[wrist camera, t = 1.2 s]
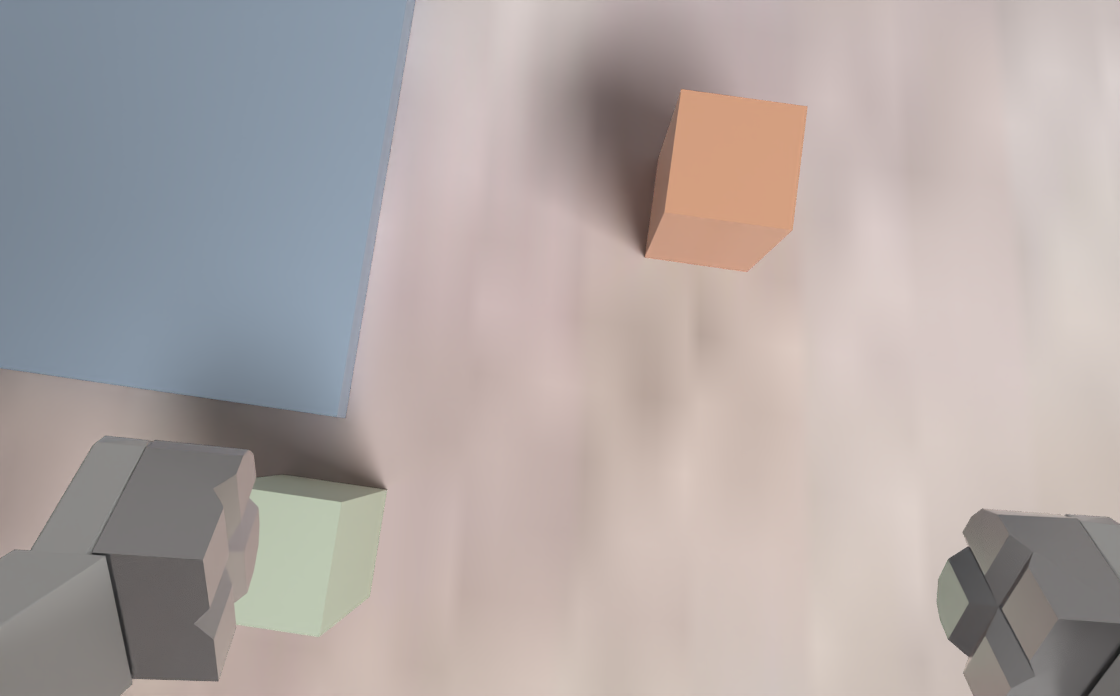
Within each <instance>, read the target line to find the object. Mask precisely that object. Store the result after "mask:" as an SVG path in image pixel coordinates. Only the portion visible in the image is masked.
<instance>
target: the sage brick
mask: <svg viewBox="0 0 1120 696" xmlns="http://www.w3.org/2000/svg"><path fill="white" fill-rule="evenodd" d="M386 493H387V490H386V489H379V488H372V487H365V486H358V485H352V484H345V483H338V482H331V481H324V480H318V479H311V478H304V477H297V476H290V475H284V474H282V475H274V476H266V477H257V478H256V480H255V483H254V485H253V488H252V491H251V494H250V497H249V498H250V499H251V500H252V501H253V502H254V503H255V504H256V505H257V506H258V507H259V523H260V526H259V545H258V551H257V556H256V562H255V568H254V572H253V576H252V579H251V582H250V586H249V589H248V592H247V594H245V595H244V596H243V597H242V598H240V599H239V600H238V601H236V602H235V603H234V608H235V619H236V625H243V626H249V627H256V628H263V629H269V630H276V631H283V632H289V633H296V634H302V635H309V636H316V637H320V636H321V635H322V634H324V633H325V632H326V631H327V630H329V629H330V628H331V627H332V626H334V625H335V624H336V623H337V622H339V621H340V620H341V619H342V618H344V617H345V616H346V615H347V614H349V613H350V612H351V611H352V610H354V609H355V608H356V607H357V606H359V605H360V604H361V603H362V602H364V601H365V600H366V599H367V598H369V597H370V592H371V586H372V580H373V574H374V567H375V561H376V555H377V549H378V543H379V537H380V530H381V524H382V518H383V512H384V506H385V499H386Z"/></svg>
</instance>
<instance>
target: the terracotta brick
mask: <svg viewBox="0 0 1120 696" xmlns="http://www.w3.org/2000/svg"><path fill="white" fill-rule="evenodd" d="M806 115H807V106H800V105H793V104H786V103H778V102H771V101H764V100H757V99H749V98H742V97H735V96H728V95H720V94H713V93H706V92H699V91H691V90H684V89H681V91H680V94H679V97H678V100H677V103H676V106H675V109H674V112H673V115H672V118H671V121H670V124H669V127H668V130H667V133H666V136H665V139H664V142H663V145H662V148H661V151H660V154H659V157H658V164H657V171H656V178H655V185H654V193H653V200H652V207H651V214H650V222H649V229H648V236H647V244H646V251H645V258H652V259H659V260H666V261H673V262H680V263H687V264H694V265H701V266H708V267H716V268H723V269H730V270H737V271H744V272H748V271H749V270H750V269H751V268H752V267H753V266H754V265H755V264H756V263H757V262H759V261H760V260H761V259H762V258H763V257H764V256H765V255H766V254H767V253H768V252H769V251H770V250H772V249H773V248H774V247H775V246H776V245H777V244H778V243H779V242H780V241H781V240H782V239H784V238H785V237H786V236H787V235H788V234H789V233H790V232H791V231H792V230H793V222H794V213H795V205H796V197H797V189H798V180H799V172H800V164H801V156H802V148H803V139H804V131H805V123H806Z"/></svg>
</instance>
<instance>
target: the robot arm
mask: <svg viewBox="0 0 1120 696" xmlns="http://www.w3.org/2000/svg"><path fill="white" fill-rule="evenodd" d="M255 480H256V470H255V461H254V454H253V453H252V452H251V451H250V450H247V449H238V448H228V447H219V446H209V445H199V444H190V443H180V442H170V441H161V440H154V441H149V440H141V439H131V438H122V437H113V436H104V437H103V438H102V439H100V440H99V441H97V442H96V443H95V444H94V445H93V446H92V448H91V449H90V451H89V453H88V454H87V456H86V458H85V459H84V461H83V463H82V464H81V466H80V468H79V469H78V471H77V473H76V474H75V476H74V478H73V479H72V481H71V483H70V485H69V486H68V488H67V490H66V491H65V493H64V495H63V496H62V498H61V500H60V501H59V503H58V505H57V506H56V508H55V510H54V511H53V513H52V515H51V516H50V518H49V520H48V521H47V523H46V525H45V526H44V528H43V530H42V531H41V533H40V535H39V537H38V538H37V540H36V542H35V543H34V545H33V547H32V548H31V550H13V551H11V552H10V553H8V554H6V555H5V556H3V557H1V558H0V696H120V695H121V694H122V693H123V692H124V691H125V690H126V689H128V688H129V687H130V686H131V685H132V679H156V680H190V681H219V679H220V676H221V673H222V670H223V667H224V664H225V660H226V657H227V654H228V651H229V648H230V645H231V642H232V639H233V636H234V633H235V630H236V619H235V608H234V603H235V602H236V601H238V600H239V599H240V598H242V597H243V596H244V595H245V594H247V592H248V589H249V586H250V582H251V579H252V576H253V572H254V568H255V562H256V556H257V551H258V545H259V526H260V523H259V507H258V506H257V505H256V504H255V503H254V502H253V501H252V500H251V499H250V498H249V497H250V494H251V491H252V488H253V485H254V483H255ZM963 535H964V537H965V540H966V543H967V545H968V547H966V548H965V549H963V550H962V551H960V552H958V553H957V554H955V555H954V556H952V557H951V558H949V559H948V560H947V562H946V564H945V567H944V569H943V571H942V573H941V575H940V577H939V579H938V590H937V607H938V612H939V617H940V621H941V624H942V626H943V628H944V631H945V633H946V636H947V638H948V640H949V641H951V642H952V643H953V644H954V645H955V646H956V647H958V648H959V649H960V650H961V651H962V652H963V653H964V654H966V655H967V656H968V660H967V663H966V666H965V669H964V672H963V674H964V676H965V678H966V681H967V683H968V685H969V687H970V689H971V692H972V694H973V696H1120V524H1119V523H1117V522H1116V521H1114V520H1113V519H1111V518H1110V517H1101V516H1086V515H1071V514H1066V515H1060V514H1050V513H1036V512H1022V511H1008V510H994V509H981V510H980V511H978V512H977V513H976V514H974V515H973V516H972V517H971V518H970V520H969V522H968V524H967V525H966V527H965V529H964V531H963Z"/></svg>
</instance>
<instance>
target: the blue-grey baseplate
mask: <svg viewBox="0 0 1120 696" xmlns="http://www.w3.org/2000/svg"><path fill="white" fill-rule="evenodd" d="M414 5H415V0H0V368H3V369H10V370H17V371H24V372H30V373H37V374H44V375H51V376H58V377H65V378H72V379H79V380H85V381H92V382H99V383H106V384H113V385H120V386H127V387H134V388H140V389H147V390H154V391H161V392H168V393H175V394H182V395H189V396H195V397H202V398H209V399H216V400H223V401H230V402H237V403H244V404H250V405H257V406H264V407H271V408H278V409H285V410H292V411H299V412H305V413H312V414H319V415H326V416H333V417H341V418H346V412H347V406H348V400H349V394H350V388H351V382H352V376H353V370H354V364H355V358H356V352H357V346H358V340H359V334H360V328H361V322H362V316H363V310H364V304H365V298H366V292H367V286H368V280H369V274H370V268H371V262H372V256H373V250H374V244H375V238H376V232H377V226H378V220H379V214H380V208H381V202H382V196H383V191H384V185H385V179H386V173H387V167H388V161H389V155H390V149H391V143H392V137H393V131H394V125H395V119H396V113H397V107H398V101H399V95H400V89H401V83H402V77H403V71H404V65H405V59H406V53H407V47H408V41H409V35H410V29H411V23H412V17H413V11H414Z"/></svg>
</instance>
